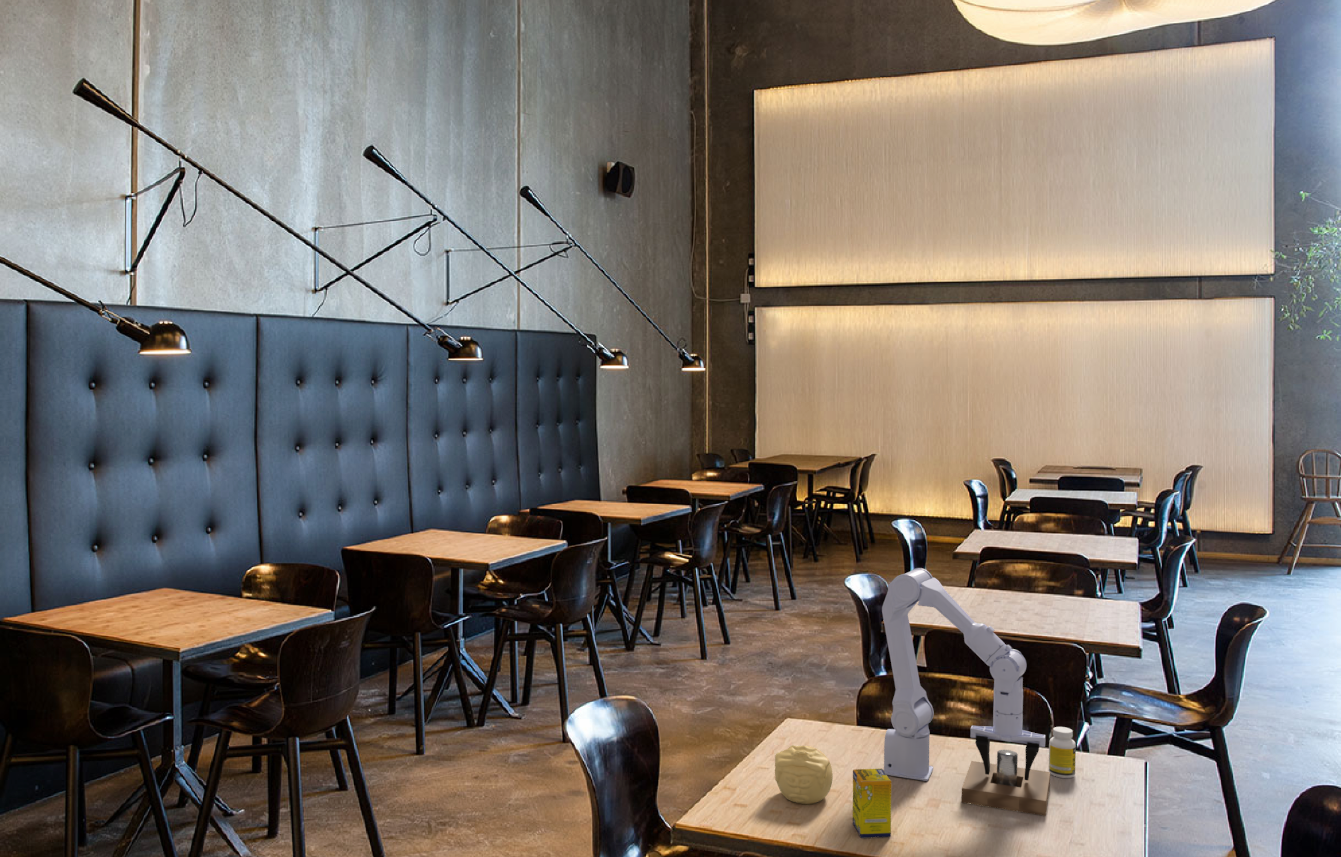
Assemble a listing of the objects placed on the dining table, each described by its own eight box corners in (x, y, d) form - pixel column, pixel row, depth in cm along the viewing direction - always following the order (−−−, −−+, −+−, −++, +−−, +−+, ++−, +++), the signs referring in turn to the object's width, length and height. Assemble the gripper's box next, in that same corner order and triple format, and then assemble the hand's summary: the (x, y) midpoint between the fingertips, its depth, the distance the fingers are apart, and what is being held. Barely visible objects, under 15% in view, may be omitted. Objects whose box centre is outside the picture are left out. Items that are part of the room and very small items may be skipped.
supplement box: (851, 824, 195) (852, 768, 195) (882, 823, 196) (882, 767, 195) (860, 838, 189) (860, 781, 189) (891, 837, 190) (892, 779, 189)
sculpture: (769, 805, 204) (769, 752, 204) (783, 783, 216) (783, 733, 215) (825, 813, 201) (826, 759, 200) (837, 790, 212) (837, 739, 211)
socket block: (961, 802, 205) (961, 788, 205) (971, 774, 220) (971, 760, 220) (1045, 816, 199) (1046, 801, 199) (1050, 786, 214) (1050, 772, 214)
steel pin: (995, 793, 209) (996, 755, 208) (997, 786, 212) (998, 748, 212) (1016, 796, 207) (1016, 757, 207) (1017, 789, 211) (1018, 751, 210)
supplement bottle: (1077, 779, 217) (1078, 734, 217) (1050, 778, 218) (1051, 733, 218) (1072, 770, 222) (1073, 726, 222) (1046, 768, 224) (1047, 724, 223)
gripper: (968, 711, 208) (968, 777, 209) (1044, 721, 202) (1043, 788, 203) (973, 701, 214) (972, 765, 215) (1046, 710, 209) (1045, 775, 209)
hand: (1006, 775), depth 209 cm, fingers open, 7 cm apart
